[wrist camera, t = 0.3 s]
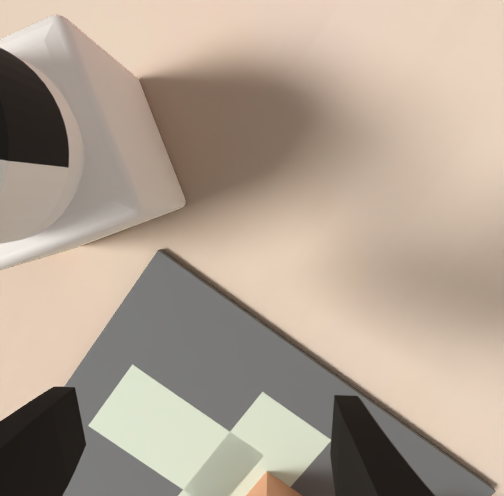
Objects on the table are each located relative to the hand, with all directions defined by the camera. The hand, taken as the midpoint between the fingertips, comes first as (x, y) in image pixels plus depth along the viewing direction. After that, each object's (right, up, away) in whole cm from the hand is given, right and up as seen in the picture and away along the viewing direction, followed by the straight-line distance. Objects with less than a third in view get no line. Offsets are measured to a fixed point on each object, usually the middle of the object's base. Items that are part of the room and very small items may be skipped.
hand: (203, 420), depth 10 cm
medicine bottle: (-7, +9, +10) cm, 15 cm away
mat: (+1, -9, +12) cm, 15 cm away
